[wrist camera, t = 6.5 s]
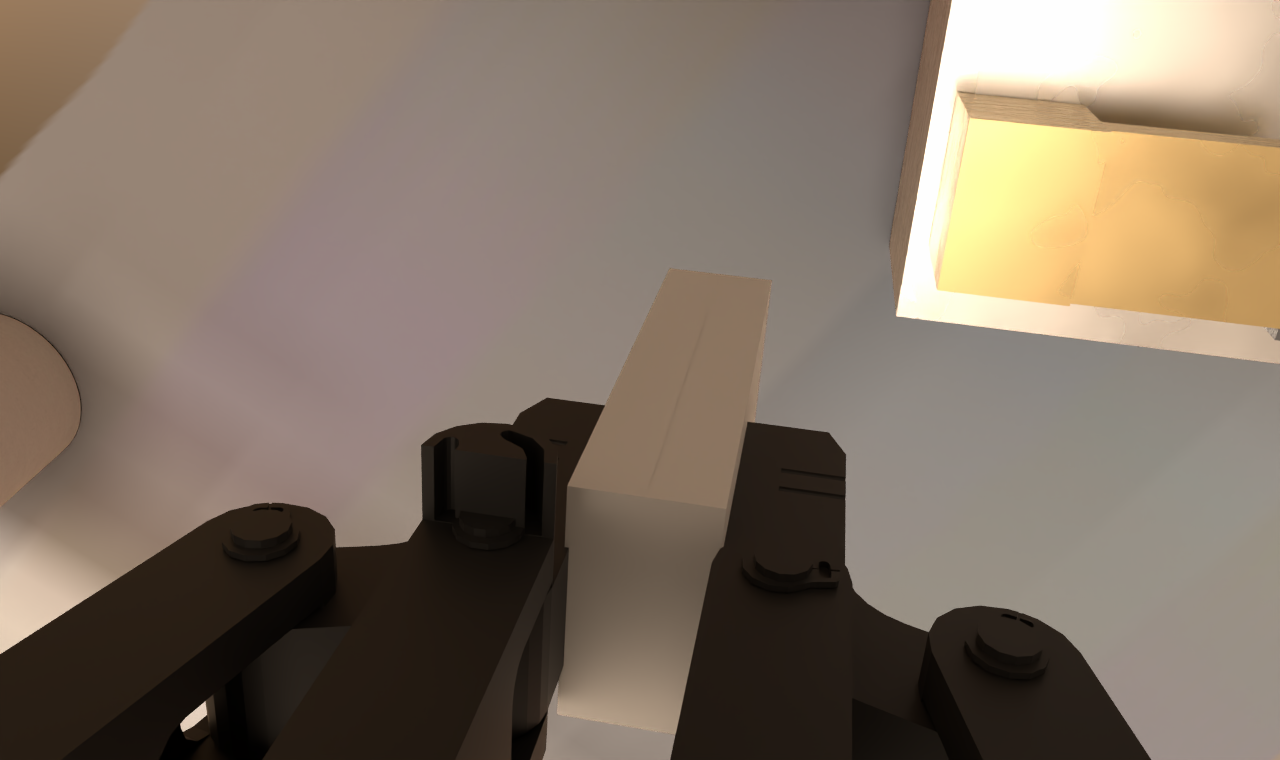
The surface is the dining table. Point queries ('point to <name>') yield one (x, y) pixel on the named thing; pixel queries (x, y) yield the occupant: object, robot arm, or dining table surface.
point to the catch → (1107, 213)
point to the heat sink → (1114, 92)
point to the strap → (1274, 333)
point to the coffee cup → (32, 405)
